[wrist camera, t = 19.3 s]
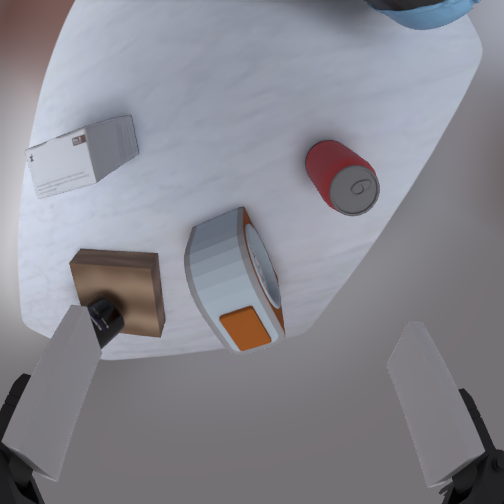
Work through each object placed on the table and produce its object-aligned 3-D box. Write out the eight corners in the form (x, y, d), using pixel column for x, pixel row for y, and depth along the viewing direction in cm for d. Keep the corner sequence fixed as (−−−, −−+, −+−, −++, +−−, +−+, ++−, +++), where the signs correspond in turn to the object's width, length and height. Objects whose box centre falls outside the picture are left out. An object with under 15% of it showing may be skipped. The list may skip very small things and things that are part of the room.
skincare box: (91, 165, 40) (35, 204, 27) (82, 126, 37) (20, 151, 24) (142, 152, 40) (97, 187, 27) (134, 111, 37) (81, 127, 24)
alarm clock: (282, 284, 51) (292, 345, 39) (235, 300, 52) (232, 363, 41) (245, 205, 44) (245, 254, 32) (192, 227, 46) (174, 281, 34)
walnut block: (81, 247, 47) (69, 262, 43) (158, 251, 48) (150, 268, 44) (97, 310, 54) (88, 328, 50) (166, 318, 55) (160, 337, 51)
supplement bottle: (121, 304, 42) (63, 356, 34) (130, 333, 47) (80, 383, 38) (92, 286, 45) (38, 332, 36) (102, 315, 49) (55, 359, 40)
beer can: (358, 169, 41) (393, 200, 31) (320, 193, 43) (343, 231, 33) (335, 130, 39) (367, 148, 28) (295, 155, 40) (312, 182, 30)
